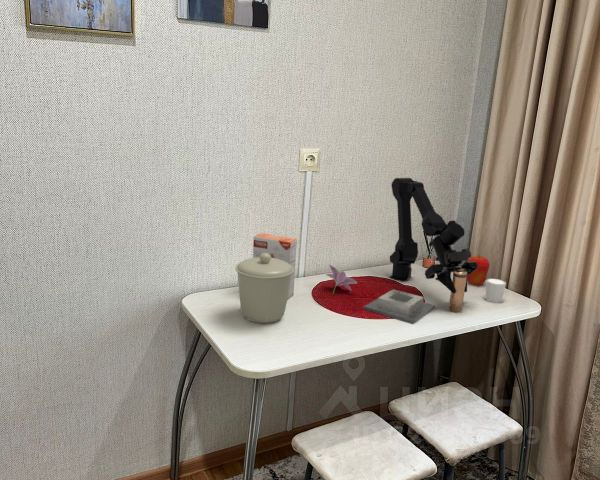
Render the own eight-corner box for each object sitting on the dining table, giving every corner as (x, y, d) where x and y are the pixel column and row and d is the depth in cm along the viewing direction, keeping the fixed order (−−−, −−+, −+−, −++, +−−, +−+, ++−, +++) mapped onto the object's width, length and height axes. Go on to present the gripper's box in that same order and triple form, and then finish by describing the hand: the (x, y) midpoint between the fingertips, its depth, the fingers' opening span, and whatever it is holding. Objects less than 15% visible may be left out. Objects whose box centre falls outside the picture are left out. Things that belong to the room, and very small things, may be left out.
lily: (357, 300, 203) (364, 274, 205) (330, 290, 198) (337, 264, 200) (339, 299, 214) (346, 274, 216) (313, 289, 209) (320, 264, 211)
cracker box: (250, 293, 201) (252, 235, 196) (258, 288, 207) (260, 231, 201) (287, 300, 196) (290, 241, 191) (294, 295, 202) (297, 237, 196)
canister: (271, 334, 170) (274, 266, 164) (222, 319, 178) (223, 254, 173) (301, 314, 185) (305, 252, 180) (254, 302, 194) (256, 241, 188)
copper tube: (446, 310, 196) (451, 271, 192) (451, 306, 200) (456, 268, 196) (459, 313, 194) (464, 274, 190) (463, 310, 197) (469, 271, 194)
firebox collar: (363, 309, 193) (364, 298, 192) (388, 295, 207) (389, 284, 206) (413, 323, 183) (414, 312, 182) (435, 308, 197) (436, 297, 196)
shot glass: (500, 297, 212) (503, 279, 210) (505, 303, 205) (508, 285, 203) (481, 295, 212) (484, 277, 211) (485, 302, 206) (488, 283, 204)
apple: (468, 278, 231) (472, 250, 228) (489, 283, 226) (493, 254, 223) (461, 283, 224) (464, 254, 221) (482, 288, 219) (486, 259, 216)
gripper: (433, 241, 190) (450, 284, 183) (478, 238, 197) (496, 279, 191) (417, 257, 199) (432, 298, 192) (461, 254, 206) (477, 293, 200)
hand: (460, 292), depth 194 cm, fingers closed on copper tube, 4 cm apart
